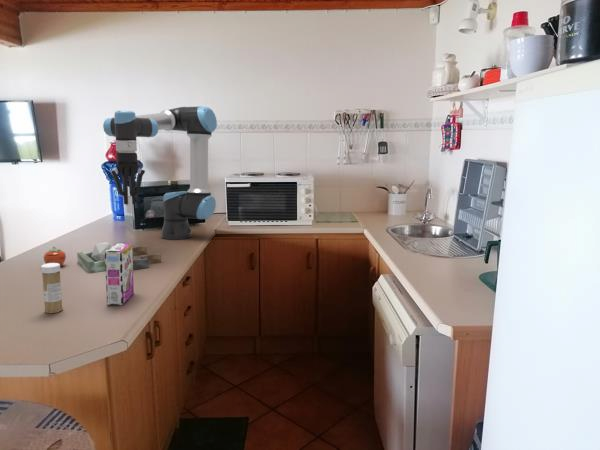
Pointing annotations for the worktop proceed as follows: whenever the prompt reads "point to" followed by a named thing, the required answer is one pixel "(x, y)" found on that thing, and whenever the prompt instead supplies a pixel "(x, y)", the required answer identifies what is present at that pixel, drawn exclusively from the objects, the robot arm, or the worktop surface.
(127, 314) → the worktop surface
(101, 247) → the die
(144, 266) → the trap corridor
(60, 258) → the tomato
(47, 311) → the sprinkles bottle
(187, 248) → the worktop surface
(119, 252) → the candy bar box
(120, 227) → the worktop surface
